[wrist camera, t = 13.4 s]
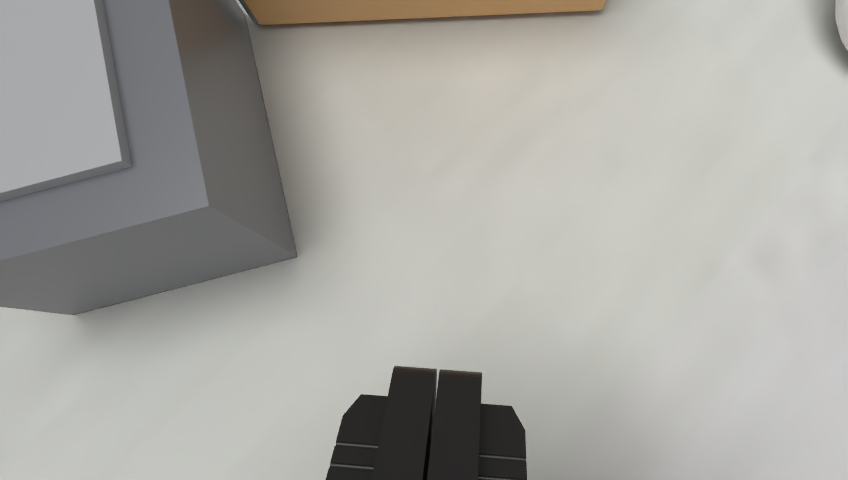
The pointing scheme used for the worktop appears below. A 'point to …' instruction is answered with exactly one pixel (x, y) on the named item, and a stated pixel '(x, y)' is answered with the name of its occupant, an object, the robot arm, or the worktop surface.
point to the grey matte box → (131, 152)
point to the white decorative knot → (842, 20)
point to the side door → (400, 9)
